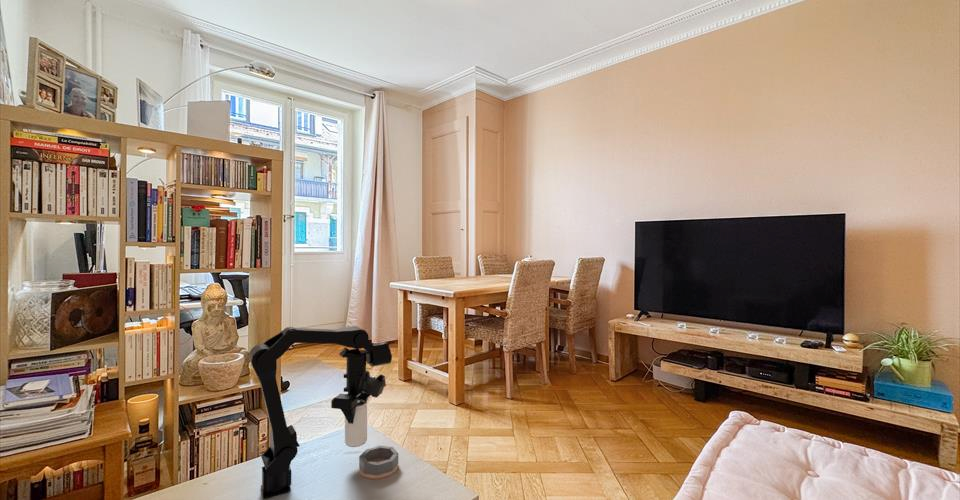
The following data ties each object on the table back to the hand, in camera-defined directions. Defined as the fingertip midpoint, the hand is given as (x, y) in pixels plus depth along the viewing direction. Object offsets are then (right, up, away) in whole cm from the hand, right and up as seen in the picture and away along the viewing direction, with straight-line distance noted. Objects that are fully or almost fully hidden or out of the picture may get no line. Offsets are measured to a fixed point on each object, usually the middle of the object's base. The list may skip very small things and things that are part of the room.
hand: (356, 420), depth 121 cm
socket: (+7, -13, -2) cm, 15 cm away
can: (0, -7, 0) cm, 7 cm away
